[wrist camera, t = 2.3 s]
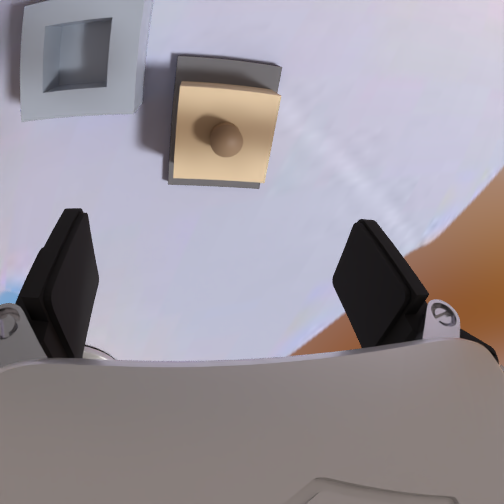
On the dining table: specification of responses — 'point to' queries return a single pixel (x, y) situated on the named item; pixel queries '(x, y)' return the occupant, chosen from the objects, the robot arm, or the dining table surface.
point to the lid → (224, 131)
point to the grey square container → (83, 57)
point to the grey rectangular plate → (224, 74)
